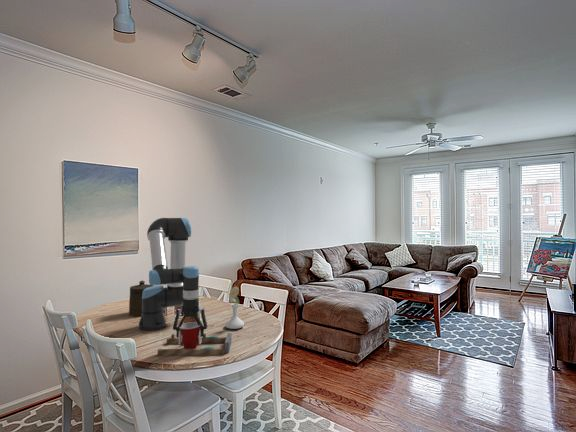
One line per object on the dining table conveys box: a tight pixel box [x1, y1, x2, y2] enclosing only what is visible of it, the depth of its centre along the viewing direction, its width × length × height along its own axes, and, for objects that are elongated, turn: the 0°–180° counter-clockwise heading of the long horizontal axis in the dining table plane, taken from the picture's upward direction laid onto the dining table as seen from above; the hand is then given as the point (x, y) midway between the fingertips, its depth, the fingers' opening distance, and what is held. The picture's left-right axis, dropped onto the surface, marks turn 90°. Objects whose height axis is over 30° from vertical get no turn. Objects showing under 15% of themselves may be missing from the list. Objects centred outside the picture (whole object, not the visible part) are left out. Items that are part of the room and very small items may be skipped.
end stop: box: [224, 332, 232, 354], centre depth 164 cm, size 2×13×5 cm, turn 5°
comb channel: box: [157, 333, 227, 357], centre depth 163 cm, size 31×16×4 cm, turn 95°
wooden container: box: [128, 280, 154, 318], centre depth 221 cm, size 15×15×22 cm
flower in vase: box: [224, 285, 245, 330], centre depth 194 cm, size 13×11×25 cm
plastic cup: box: [179, 321, 200, 349], centre depth 163 cm, size 11×11×12 cm
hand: (190, 343), depth 163 cm, fingers closed on plastic cup, 9 cm apart
